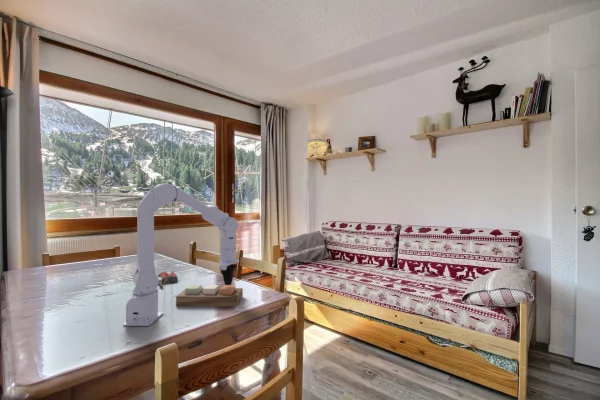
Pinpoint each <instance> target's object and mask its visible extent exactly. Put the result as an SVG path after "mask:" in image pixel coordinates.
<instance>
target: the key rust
mask: <svg viewBox="0 0 600 400" xmlns="http://www.w3.org/2000/svg"><path fill="white" fill-rule="evenodd" d="M220 288H221V295H233V293H234V292H235V288H236V285H235V284H231V285H225V284H224V285H223V286H221V287H220Z"/></svg>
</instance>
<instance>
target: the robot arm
mask: <svg viewBox="0 0 600 400" xmlns="http://www.w3.org/2000/svg"><path fill="white" fill-rule="evenodd" d="M169 203H181V204H183V205H186V206H187V207H189V208H191V209H192V210H194V211H196V212H197V213H200V215H201V217H202V219H203V220H204V221H206V222H208V223H210V224H211V225H213V226H215V227H216V228H218V229H219V230H220V259H219V264H220V265H219V271H220V272H221V275H222V279H223V283H224V285H232V283H233V277H234V274H235V271H236V268H237V266H238V265H237V263H240V259H237V231H238V230H239V228H240V227H239V226H240V224H239V223H238V221H237V219H236V218H235V217H231V216H229V213H227V212H224V211H222V210H220V209H219V206H217V205H212V204H210V205H206V204H205V203H203V202H201V201H199V199H197V198H195V197H193V196H192V195H191V194H189V193H187V192H186V191H184V190H183V189H181V188H179V187H175V186H173V185H172V184H170V183H161V184H156V185H154V186H153V187H151V188H150V189H149V190H148V191H147V192H146V194H145V195H144V197H143V198H142V199H141V200H140V202H139V203H138V204H137V210H136V212H137V213H136V215H137V216H136V217H137V222H136V223H137V225H136V227H137V229H136V230H137V236H136V238H137V239H136V240H137V241H136V242H137V246H136V247H137V248H136V250H137V251H136V254H137V256H136V257H137V259H136V260H137V262H136V267H135V268H136V269H135V272H134V274H133V278H132V279H133V283H134V284H135V287H134V289H133V290H132V295H131V297H130V299H128V301H127V302H126V304H125V305H126V306H125V322H124V323H123V324H122V326H123V327H124V326H125V327H127V326H129V327H132V326H133V327H149V326H150V325H152V324H153V323H154V322H156V321H157V320H158V319H159V318H160V317H161V316H163V314H164V312H163V311H159V288H158V286H159V280H158V275H156V265H155V212H157V211H158V210H159V209H160V208H161V207H163V206H164V205H167V204H169Z"/></svg>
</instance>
